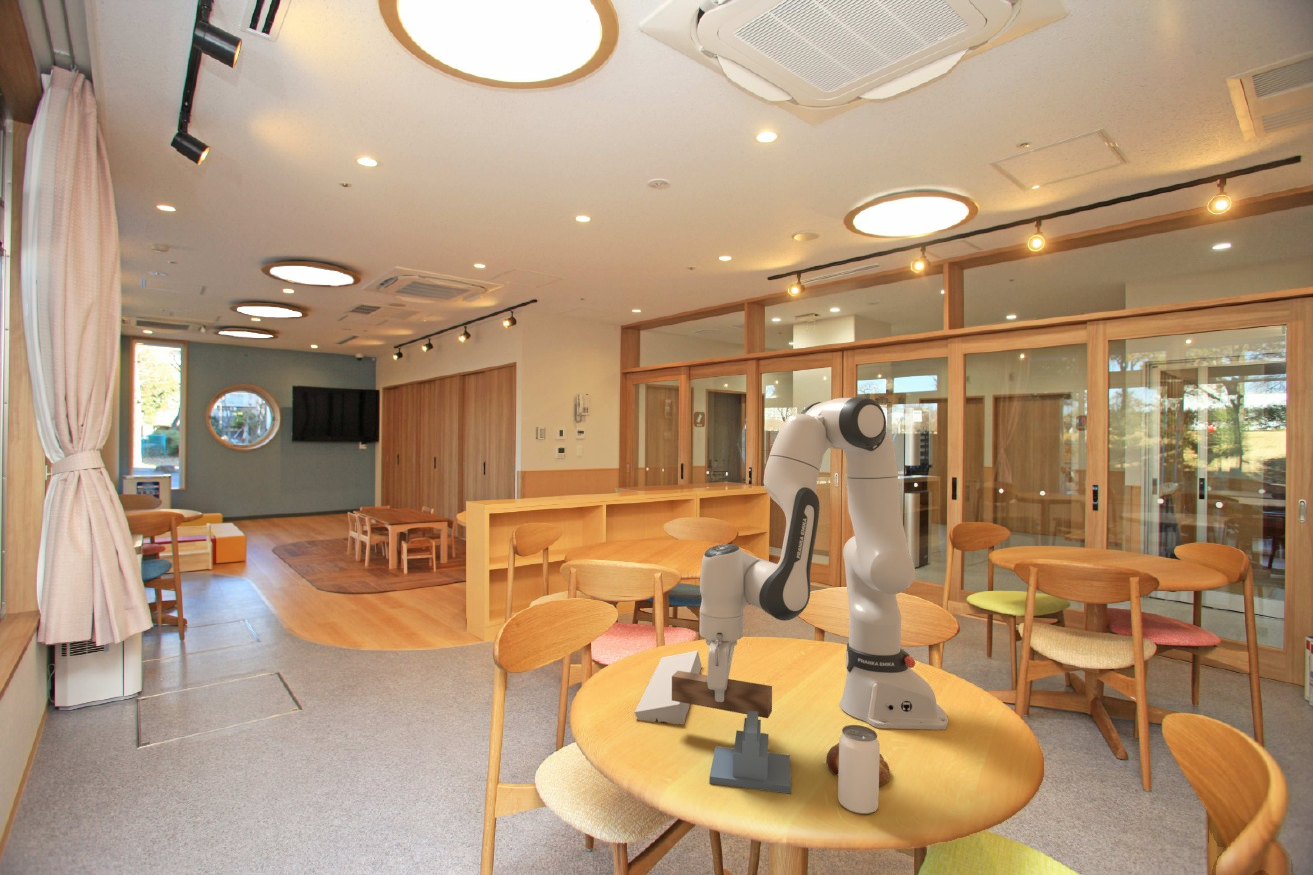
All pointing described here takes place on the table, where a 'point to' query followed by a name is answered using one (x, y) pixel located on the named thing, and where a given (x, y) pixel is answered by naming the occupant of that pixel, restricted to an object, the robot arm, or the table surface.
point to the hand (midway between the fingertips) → (720, 695)
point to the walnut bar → (736, 695)
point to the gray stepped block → (751, 761)
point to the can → (858, 769)
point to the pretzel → (833, 764)
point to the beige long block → (667, 690)
